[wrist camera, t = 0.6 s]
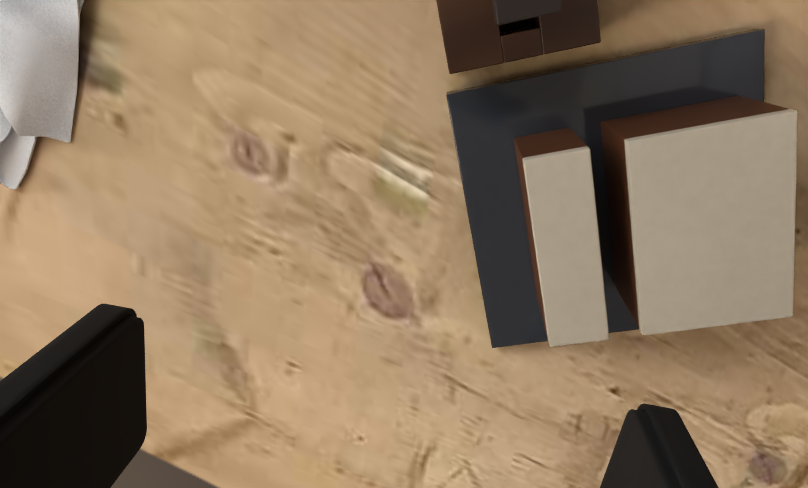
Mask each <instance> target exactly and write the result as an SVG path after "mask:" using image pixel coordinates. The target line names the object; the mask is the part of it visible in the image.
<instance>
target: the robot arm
mask: <svg viewBox="0 0 808 488" xmlns="http://www.w3.org/2000/svg"><path fill="white" fill-rule="evenodd" d="M146 431H147V420H146V382H145V344H144V322H143V320H142V319H141V318H138V317H137V315H136V313H135V311H134V310H133V309H131V308H125V307H120V306H114V305H109V304H100V305H98V306H97V307H96V308H94V309H93V310H92V311H90V312H89V313H88V314H86V315H85V316H84V317H83V318H81V319H80V320H79V321H77V322H76V323H75V324H74V325H72V326H71V327H70V328H68V329H67V330H66V331H65V332H63V333H62V334H61V335H59V336H58V337H57V338H55V339H54V340H53V341H52V342H50V343H49V344H48V345H46V346H45V347H44V348H43V349H41V350H40V351H39V352H37V353H36V354H35V355H34V356H32V357H31V358H30V359H28V360H27V361H26V362H24V363H23V364H22V365H21V366H19V367H18V368H17V369H15V370H14V371H13V372H12V373H10V374H9V375H8V376H6V377H5V378H4V379H2V380H1V381H0V488H110V487H111V486H112V485H113V483H114V482H115V481H116V480H117V478H118V477H119V476H120V474H121V473H122V472H123V470H124V469H125V467H126V466H127V465H128V464H129V462H130V461H131V460H132V459H133V457H134V456H135V455H136V453H137V452H138V451H139V449H140V448H141V446H142V444H143V442H144V439H145V436H146ZM600 488H718V486H717V484H716V482H715V480H714V479H713V477H712V475H711V473H710V471H709V469H708V467H707V466H706V464H705V462H704V460H703V458H702V456H701V455H700V453H699V451H698V449H697V447H696V445H695V443H694V442H693V440H692V438H691V436H690V434H689V432H688V430H687V429H686V427H685V425H684V423H683V421H682V419H681V417H680V416H679V414H678V412H677V411H676V410H674V409H671V408H665V407H660V406H655V405H649V404H641V405H640V406H639V407H638V409H637V410H633V409H631V410H629V412H628V413H627V415H626V418H625V420H624V423H623V426H622V429H621V431H620V434H619V437H618V440H617V442H616V445H615V448H614V451H613V453H612V456H611V459H610V462H609V464H608V467H607V470H606V473H605V475H604V478H603V481H602V484H601V486H600Z"/></svg>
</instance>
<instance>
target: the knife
mask: <svg viewBox="0 0 808 488" xmlns="http://www.w3.org/2000/svg"><path fill="white" fill-rule="evenodd" d="M491 3H492V10H493V17H494V24H495V25H503V24H507V23H512V22H516V21H521V20H525V19H530V18H534V17H539V16H543V15H548V14H552V13H557V12H561V11H562V3H561V0H491Z"/></svg>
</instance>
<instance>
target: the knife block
mask: <svg viewBox="0 0 808 488" xmlns="http://www.w3.org/2000/svg"><path fill="white" fill-rule="evenodd" d="M436 1H437V6H438V12H439V18H440V23H441V29H442V35H443V40H444V46H445V52H446V57H447V63H448V69H449V73H450V74H453V73H458V72H463V71H468V70H472V69H477V68H482V67H486V66H491V65H496V64H501V63H504V62H510V61H515V60H520V59H524V58H529V57H534V56H539V55H542V54H548V53H553V52H557V51H562V50H567V49H572V48H576V47H581V46H586V45H591V44H595V43H600V42H601V38H600V27H599V15H598V4H597V0H561V3H562V11H561V12H557V13H552V14H548V15H543V16H539V17H534V18H530V19H529V24H530V27H527V28H522V29H517V30H513V31H508V32H504V33H500V30H499V25H495V24H494V17H493V10H492V3H491V0H436Z"/></svg>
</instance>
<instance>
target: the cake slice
mask: <svg viewBox="0 0 808 488" xmlns="http://www.w3.org/2000/svg"><path fill="white" fill-rule="evenodd" d="M514 143H515V150H516V157H517V164H518V171H519V178H520V185H521V192H522V198H523V205H524V212H525V219H526V226H527V233H528V240H529V246H530V253H531V260H532V267H533V274H534V281H535V288H536V295H537V300H538V304H539V308H540V312H541V316H542V319H543V323H544V327H545V331H546V335H547V339H548V342H549V346H550V347H556V346H564V345H572V344H580V343H588V342H596V341H603V340H609V331H608V321H607V311H606V301H605V291H604V281H603V271H602V261H601V251H600V241H599V231H598V221H597V212H596V202H595V192H594V182H593V172H592V162H591V152H590V148H589V147H588V146H587V145H586V144H585V143H584V142H583V141H582V140H581V139H580V138H579V137H578V136H577V135H576V134H575V133H574V132H573V131H572V130H571V129H570V128H563V129H558V130H553V131H547V132H542V133H537V134H531V135H526V136H521V137H516V138H514Z"/></svg>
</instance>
